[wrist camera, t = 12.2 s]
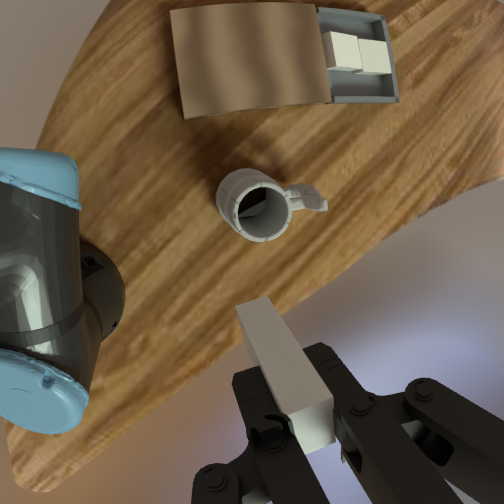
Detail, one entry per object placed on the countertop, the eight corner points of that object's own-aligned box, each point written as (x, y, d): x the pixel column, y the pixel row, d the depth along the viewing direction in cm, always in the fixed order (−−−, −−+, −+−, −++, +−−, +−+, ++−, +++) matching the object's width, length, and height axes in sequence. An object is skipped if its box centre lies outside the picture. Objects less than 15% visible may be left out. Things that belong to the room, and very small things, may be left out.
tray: (324, 104, 40) (334, 102, 37) (309, 13, 34) (318, 7, 32) (387, 103, 41) (399, 102, 39) (373, 20, 36) (384, 15, 33)
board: (183, 120, 36) (184, 118, 33) (170, 21, 31) (169, 10, 28) (318, 104, 39) (331, 102, 36) (303, 13, 34) (314, 4, 31)
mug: (208, 173, 40) (222, 187, 29) (296, 157, 41) (338, 165, 30) (220, 230, 42) (237, 263, 31) (303, 211, 44) (344, 236, 33)
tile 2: (323, 69, 36) (336, 66, 34) (318, 35, 34) (330, 31, 32) (350, 71, 38) (362, 68, 36) (344, 39, 36) (356, 36, 34)
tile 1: (391, 73, 37) (381, 75, 39) (386, 42, 35) (376, 45, 37) (363, 71, 36) (354, 74, 38) (357, 38, 34) (348, 42, 36)
